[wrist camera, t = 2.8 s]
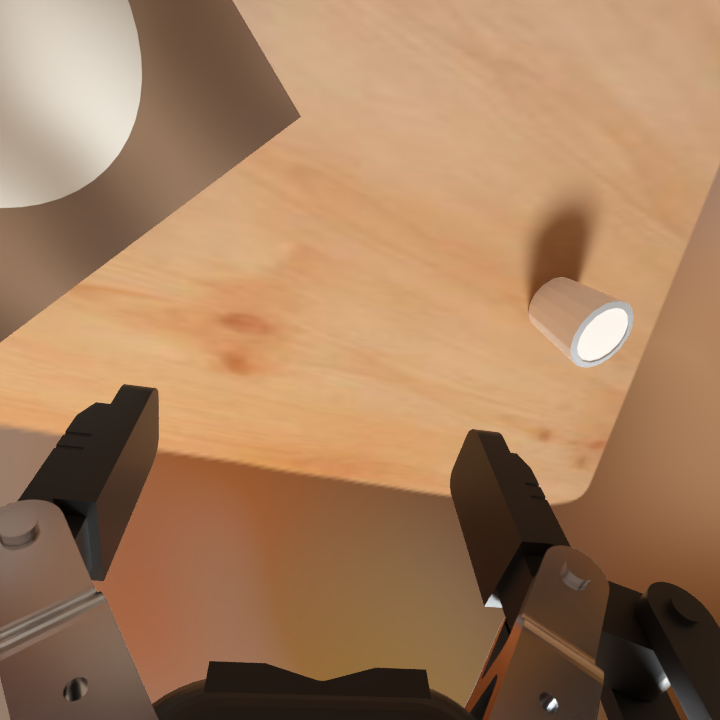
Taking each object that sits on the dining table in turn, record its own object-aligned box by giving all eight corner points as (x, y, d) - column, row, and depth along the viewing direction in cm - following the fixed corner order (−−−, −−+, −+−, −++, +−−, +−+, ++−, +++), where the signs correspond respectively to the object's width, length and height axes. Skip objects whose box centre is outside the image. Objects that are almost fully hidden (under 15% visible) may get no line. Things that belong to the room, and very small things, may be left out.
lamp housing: (17, -263, 20) (-136, -632, 9) (246, 93, 30) (309, 127, 19) (-260, -43, 21) (-733, -134, 9) (54, 238, 30) (3, 356, 19)
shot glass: (550, 340, 52) (597, 376, 47) (510, 319, 48) (557, 355, 43) (592, 286, 50) (647, 317, 44) (554, 259, 46) (609, 289, 41)
